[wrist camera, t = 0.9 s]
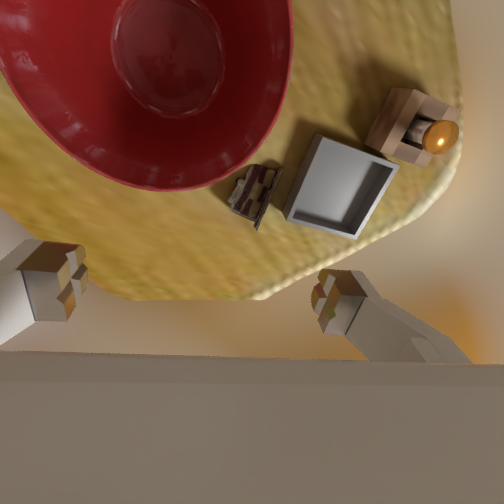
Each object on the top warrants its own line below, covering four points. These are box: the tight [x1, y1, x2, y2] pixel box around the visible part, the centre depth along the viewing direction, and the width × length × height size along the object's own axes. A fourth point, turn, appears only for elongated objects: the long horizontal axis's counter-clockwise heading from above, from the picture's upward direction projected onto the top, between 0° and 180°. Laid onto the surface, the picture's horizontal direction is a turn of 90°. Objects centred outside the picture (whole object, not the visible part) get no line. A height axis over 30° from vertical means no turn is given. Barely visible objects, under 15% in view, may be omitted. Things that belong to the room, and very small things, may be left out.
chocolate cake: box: [228, 164, 284, 230], centre depth 51 cm, size 10×7×12 cm
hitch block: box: [363, 87, 461, 168], centre depth 46 cm, size 9×9×6 cm
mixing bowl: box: [0, 0, 294, 192], centre depth 33 cm, size 28×28×16 cm
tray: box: [282, 133, 400, 240], centre depth 51 cm, size 15×15×4 cm
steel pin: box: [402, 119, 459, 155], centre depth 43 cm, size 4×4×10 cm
